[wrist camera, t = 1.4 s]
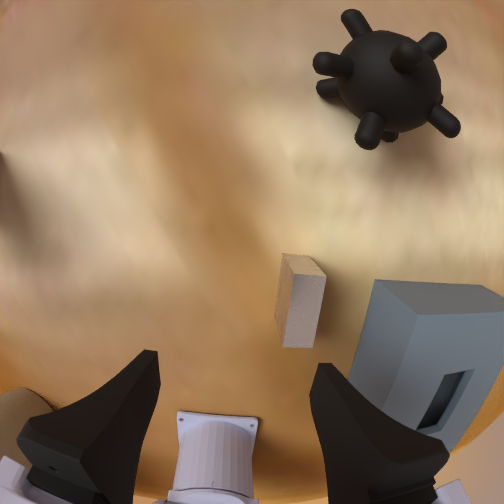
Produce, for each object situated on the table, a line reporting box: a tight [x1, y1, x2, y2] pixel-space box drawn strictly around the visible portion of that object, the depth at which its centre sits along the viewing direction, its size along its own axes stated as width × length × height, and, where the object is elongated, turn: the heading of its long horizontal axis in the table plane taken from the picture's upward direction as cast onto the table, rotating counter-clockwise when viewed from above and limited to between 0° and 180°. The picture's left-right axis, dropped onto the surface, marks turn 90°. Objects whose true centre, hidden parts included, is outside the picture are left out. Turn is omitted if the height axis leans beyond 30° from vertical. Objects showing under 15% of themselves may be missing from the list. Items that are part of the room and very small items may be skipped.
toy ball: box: [313, 9, 461, 150], centre depth 15 cm, size 10×10×11 cm
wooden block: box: [274, 253, 327, 348], centre depth 20 cm, size 5×2×5 cm, turn 174°
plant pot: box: [0, 388, 53, 470], centre depth 18 cm, size 15×15×16 cm
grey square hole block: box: [348, 279, 504, 452], centre depth 22 cm, size 18×14×7 cm
